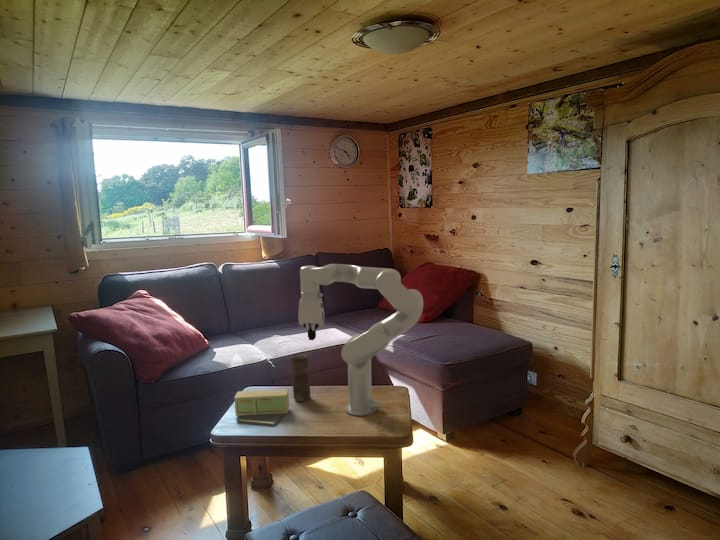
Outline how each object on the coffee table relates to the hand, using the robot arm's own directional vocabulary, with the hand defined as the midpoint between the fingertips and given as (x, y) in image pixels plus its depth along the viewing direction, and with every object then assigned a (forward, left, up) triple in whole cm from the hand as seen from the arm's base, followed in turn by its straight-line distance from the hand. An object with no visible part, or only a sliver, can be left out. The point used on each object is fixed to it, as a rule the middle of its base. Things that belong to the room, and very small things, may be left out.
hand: (312, 339), depth 204 cm
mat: (+17, +14, -29) cm, 36 cm away
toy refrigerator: (+8, +8, -24) cm, 27 cm away
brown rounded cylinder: (+8, -6, -29) cm, 31 cm away
